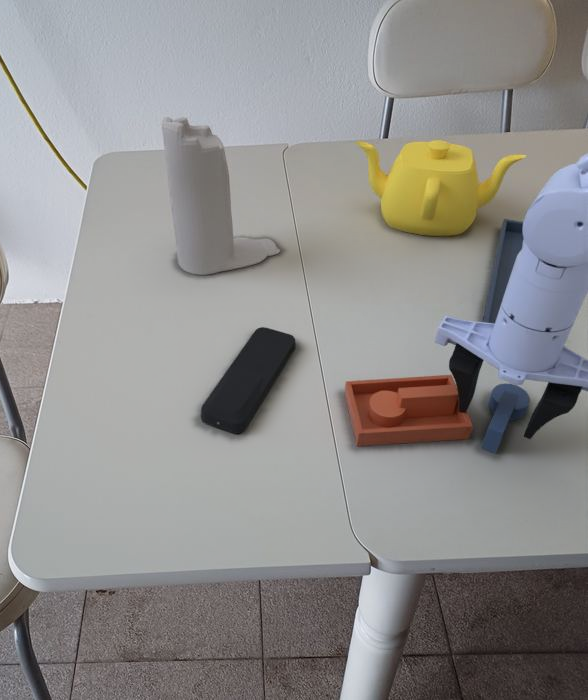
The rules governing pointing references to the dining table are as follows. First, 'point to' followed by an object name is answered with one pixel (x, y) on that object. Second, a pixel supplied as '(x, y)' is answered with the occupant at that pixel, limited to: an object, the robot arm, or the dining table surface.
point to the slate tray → (503, 266)
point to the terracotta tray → (410, 427)
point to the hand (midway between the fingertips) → (496, 418)
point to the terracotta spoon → (411, 404)
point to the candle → (204, 202)
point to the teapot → (433, 187)
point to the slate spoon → (504, 412)
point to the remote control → (248, 380)
